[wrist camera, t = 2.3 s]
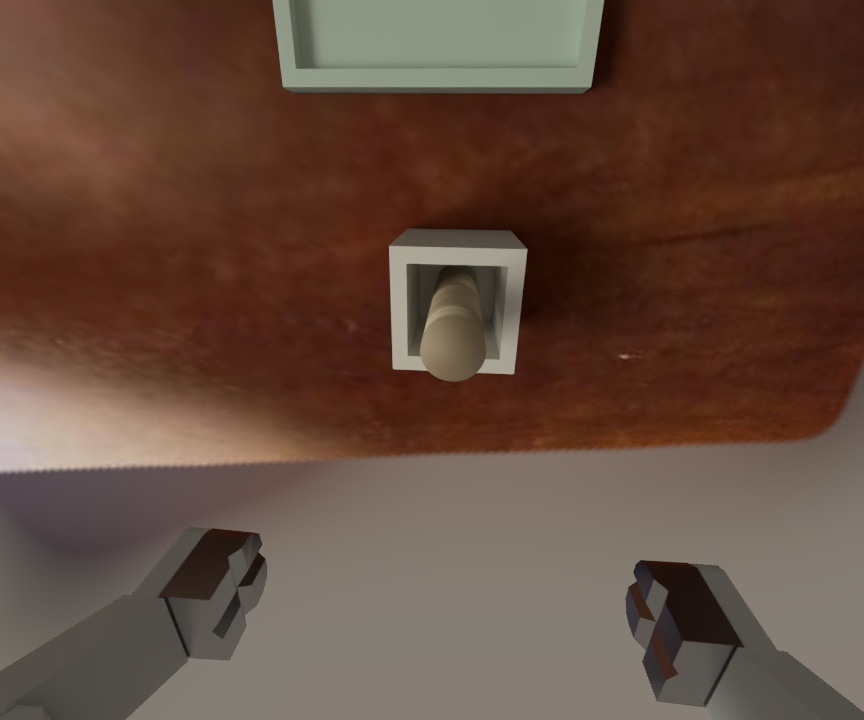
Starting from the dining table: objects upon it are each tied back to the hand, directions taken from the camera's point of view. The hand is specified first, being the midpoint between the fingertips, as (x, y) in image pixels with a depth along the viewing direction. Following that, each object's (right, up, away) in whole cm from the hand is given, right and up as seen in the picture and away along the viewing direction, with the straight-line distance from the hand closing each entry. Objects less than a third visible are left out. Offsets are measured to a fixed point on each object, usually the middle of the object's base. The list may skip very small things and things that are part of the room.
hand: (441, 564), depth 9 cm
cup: (+2, +11, +24) cm, 27 cm away
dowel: (+2, +11, +23) cm, 26 cm away
